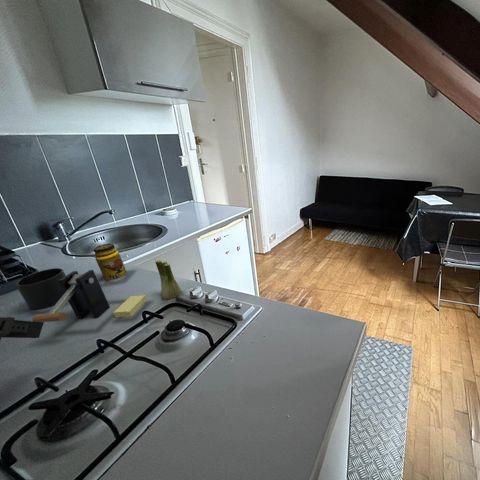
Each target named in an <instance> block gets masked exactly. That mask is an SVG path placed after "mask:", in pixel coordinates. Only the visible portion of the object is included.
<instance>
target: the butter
mask: <svg viewBox="0 0 480 480" xmlns="http://www.w3.org/2000/svg"><path fill="white" fill-rule="evenodd" d="M147 301H148V298H147V296H146V295H145V294H142V295H141V294H140V295H130V296H129V297H128V298H127V299H126V300H125V301H124V302H122V304H120V305H119V306H118V307H117V308H116V309H115V310H114V311H112V313H113V315H114V317H115V318H129V317H132V316H134V314H135V313H137V311H138V310H139V309H140V308H141V307H142V306H143V305H144V304H145V303H146V302H147Z"/></svg>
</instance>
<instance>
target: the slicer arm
mask: <svg viewBox="0 0 480 480" xmlns="http://www.w3.org/2000/svg"><path fill="white" fill-rule="evenodd" d="M83 274H84V273H78V274H75V275H74V276H73V277H72V278H71V280H70V281H69V282H68V284H69V285H70V288H69V289H68V290H67V291H66V292H65V294H64V295H63V296H62V297H61V298H60V300H59V301H58V302H57V303H56V304H55V306H52V307H51V308H50V310H49V311H48V312H47V313H39V314H35V315H33V316H32V321H34V322H44V323H47V322H48V323H49V322H62V321H64V320H65V319H66V318H67V313H65V312H61V310H62V309H63V308H64V306H65V305H66V304H67V303H68V302H69V301H68V300H69V299H70V298H71V296H72V295H73V294H74V293H75V291H76V290H77V289H79V287H78V285H77V283H76V281H75V279H76V278H78V277H80V276H81V275H83Z"/></svg>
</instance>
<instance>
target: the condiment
mask: <svg viewBox="0 0 480 480" xmlns="http://www.w3.org/2000/svg"><path fill="white" fill-rule="evenodd" d="M92 250H93V253H94V256H95V258H94V259H95V261H96V263H97V266H98V268H99V270H100V273H101V275H102V278H103V279H104V281H114V280H118V279H121V278H122V277H124V276H126V275H127V273H128V271H127V270H126V267H125V263H124V261H123V260H122V257H121V255H120V253H119V251H118V250H117V248H116V246H115V244H114V243H104V244H100V245H97V246H95V247H94V248H93V249H92Z"/></svg>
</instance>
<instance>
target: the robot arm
mask: <svg viewBox="0 0 480 480" xmlns="http://www.w3.org/2000/svg"><path fill="white" fill-rule="evenodd" d="M44 323H45V322H34V321H33V320H32V321H31V320H23V319H22V320H19V319H16V318H15V317H12V316H7V317H1V316H0V341H1V340H2V338H11V339H12V338H15V339H23V338H24V339H39V338H40V336H41V332H42V330H43V327H44Z"/></svg>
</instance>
